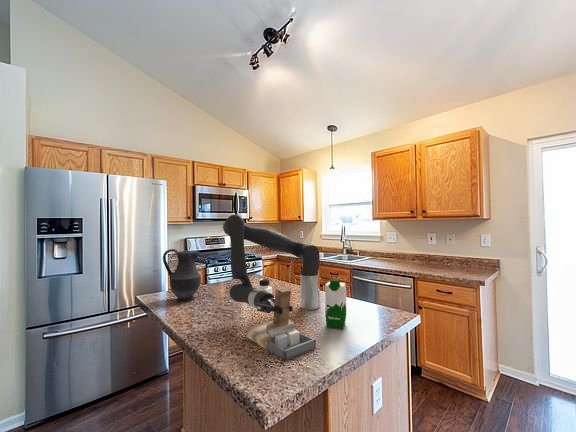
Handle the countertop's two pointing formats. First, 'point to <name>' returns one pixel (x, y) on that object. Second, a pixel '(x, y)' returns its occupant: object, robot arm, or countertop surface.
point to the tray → (292, 347)
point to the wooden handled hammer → (281, 321)
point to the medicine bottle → (264, 285)
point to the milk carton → (335, 304)
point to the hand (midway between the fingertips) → (286, 310)
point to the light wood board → (261, 334)
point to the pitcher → (184, 275)
